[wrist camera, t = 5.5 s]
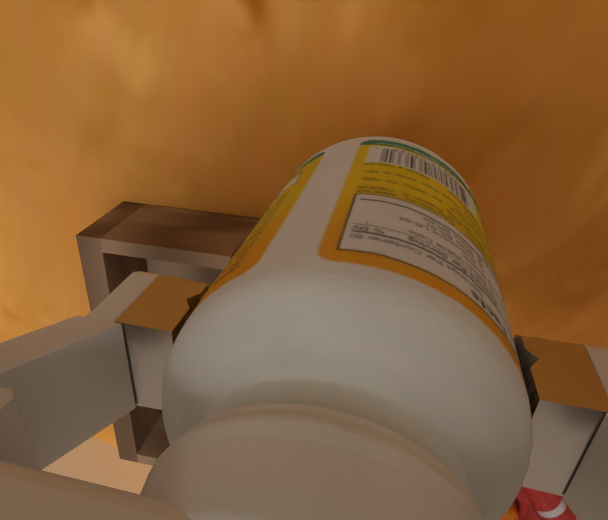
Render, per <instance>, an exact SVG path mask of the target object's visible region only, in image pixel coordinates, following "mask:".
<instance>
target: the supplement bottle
mask: <svg viewBox="0 0 608 520" xmlns="http://www.w3.org/2000/svg"><path fill="white" fill-rule="evenodd" d="M162 413H163V421H164V426H165V430H166V434H167V438H168V441H169V444H170V446H169V447H168V448H167V449H166V450H165V451H164V452H163V453H162V454H161V455H160V456H159V457H158V459H157V460H156V461H155V463H154V465H153V467H152V469H151V471H150V472H149V474H148V477H147V479H146V482H145V484H144V487H143V489H142V491H141V493H140V495H143V496H147V497H151V498H156V499H160V500H164V501H168V502H170V503H172V504H175V505H177V506H178V507H179V508H180V509H182V510H183V511H184V512H185V514H186V515H187V516H188V517H189V518H190V519H191V520H500V519H501V518H502V516H503V515H504V514H505V513H506V512H507V510H508V509H509V508H510V507H511V505H512V503H513V502H514V500H515V498H516V497H517V495H518V493H519V491H520V489H521V487H522V485H523V482H524V479H525V477H526V474H527V470H528V467H529V463H530V457H531V451H532V433H533V424H532V417H531V410H530V404H529V398H528V394H527V390H526V386H525V382H524V378H523V374H522V371H521V367H520V363H519V359H518V355H517V351H516V348H515V344H514V340H513V336H512V333H511V329H510V325H509V321H508V317H507V313H506V309H505V305H504V302H503V299H502V295H501V291H500V287H499V283H498V279H497V275H496V271H495V267H494V263H493V259H492V256H491V252H490V249H489V245H488V241H487V237H486V234H485V230H484V226H483V222H482V218H481V215H480V212H479V209H478V206H477V203H476V200H475V198H474V196H473V194H472V192H471V190H470V188H469V187H468V185H467V184H466V182H465V181H464V180H463V178H462V177H461V176H460V174H459V173H458V172H457V171H456V170H455V169H454V168H453V167H452V166H451V165H450V164H449V163H447V162H446V161H445V160H444V159H442V158H441V157H440V156H438V155H437V154H435V153H433V152H432V151H430V150H428V149H426V148H424V147H422V146H420V145H418V144H415V143H412V142H409V141H406V140H403V139H398V138H393V137H382V136H372V137H361V138H354V139H349V140H345V141H342V142H339V143H336V144H334V145H332V146H330V147H327V148H325V149H324V150H322V151H320V152H318V153H317V154H315V155H314V156H312V157H311V158H310V159H308V160H307V161H306V162H305V163H304V164H303V165H302V166H301V167H300V168H299V169H298V170H297V171H296V172H295V173H294V174H293V176H292V177H291V178H290V179H289V181H288V182H287V183H286V185H285V186H284V187H283V189H282V190H281V192H280V193H279V194H278V196H277V197H276V198H275V200H274V201H273V203H272V204H271V206H270V207H269V208H268V210H267V211H266V213H265V214H264V215H263V217H262V218H261V219H260V221H259V222H258V223H257V225H256V226H255V227H254V229H253V230H252V232H251V233H250V234H249V236H248V237H247V238H246V240H245V241H244V243H243V244H242V245H241V247H240V248H239V249H238V251H237V252H236V253H235V255H234V256H233V257H232V258H231V260H230V261H229V262H228V264H227V265H226V267H225V268H224V269H223V270H222V272H221V273H220V275H219V276H218V278H217V279H216V280H215V281H214V283H213V284H212V285H211V286H210V288H209V289H208V291H207V292H206V293H205V294H204V296H203V297H202V299H201V300H200V302H199V304H198V305H197V306H196V308H195V309H194V311H193V312H192V314H191V315H190V317H189V318H188V319H187V321H186V323H185V324H184V326H183V328H182V329H181V331H180V332H179V334H178V336H177V338H176V340H175V342H174V344H173V347H172V349H171V351H170V354H169V356H168V360H167V363H166V367H165V371H164V377H163V384H162Z"/></svg>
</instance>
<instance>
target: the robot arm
mask: <svg viewBox="0 0 608 520" xmlns="http://www.w3.org/2000/svg"><path fill="white" fill-rule="evenodd" d="M210 286H211V284H209V283H203V282H198V281H192V280H187V279H182V278H176V277H171V276H166V275H160V274H154V273H148V272H142V271H137V272H133V273H132V274H130V275H129V276H128V277H127V278H126V279H125V280H124V281H123V282H122V283H121V284H120V285H119V286H118V287H117V288H116V289H115V290H114V291H113V292H112V293H110V294H109V295H108V296H107V297H106V298H105V299H104V300H103V301H102V302H101V303H100V304H99V305H98V306H97V307H96V308H95V309H94V310H93V311H91V312H90V313H89V314H88V315H87V316H86V317H82V316H76V317H73V318H70V319H67V320H64V321H61V322H59V323H56V324H53V325H50V326H47V327H45V328H42V329H39V330H36V331H33V332H30V333H28V334H25V335H22V336H19V337H16V338H14V339H11V340H8V341H5V342H2V343H0V520H191V519H190V518H189V517H188V516H187V515H186V514H185V512H184V511H183V510H182V509H180V508H179V507H178V506H177V505H175V504H172V503H170V502H168V501H164V500H160V499H156V498H151V497H147V496H143V495H139V494H135V493H131V492H127V491H123V490H119V489H115V488H110V487H107V486H103V485H99V484H95V483H90V482H86V481H82V480H78V479H74V478H70V477H66V476H62V475H58V474H54V473H50V472H45V471H42V469H44V468H45V467H47V466H48V465H50V464H51V463H53V462H54V461H56V460H57V459H59V458H60V457H62V456H63V455H65V454H66V453H68V452H70V451H71V450H72V449H74V448H76V447H77V446H79V445H80V444H82V443H83V442H84V441H86V440H88V439H89V438H91V437H92V436H94V435H95V434H97V433H98V432H100V431H101V430H103V429H104V428H106V427H107V426H109V425H110V424H112V423H114V422H115V421H117V420H118V419H120V418H121V417H123V416H124V415H126V414H127V413H129V412H130V411H132V410H133V409H135V408H136V405H138V406H143V407H149V408H154V409H160V410H162V384H163V377H164V371H165V367H166V363H167V360H168V356H169V354H170V351H171V349H172V347H173V344H174V342H175V340H176V338H177V336H178V334H179V332H180V331H181V329H182V328H183V326H184V324H185V323H186V321H187V319H188V318H189V317H190V315H191V314H192V312H193V311H194V309H195V308H196V306H197V305H198V304H199V302H200V300H201V299H202V297H203V296H204V294H205V293H206V292H207V291H208V289H209V288H210ZM513 340H514V344H515V348H516V351H517V355H518V359H519V363H520V367H521V371H522V374H523V378H524V382H525V386H526V390H527V394H528V398H529V404H530V410H531V417H532V424H533V433H532V451H531V457H530V463H529V467H528V470H527V474H526V477H525V479H524V482H523V485H522V487H526V488H530V489H534V490H539V491H543V492H547V493H551V494H555V495H559V496H564V497H563V500H564V501H565V503H566V504H567V505H568V507H569V508H570V509H571V511H572V512H573V513H574V514H575V516H576V517H577V518H578V520H608V348H607V347H600V346H592V345H585V344H573V343H567V342H560V341H553V340H547V339H540V338H533V337H527V336H520V335H516V336H515V337H514V339H513Z"/></svg>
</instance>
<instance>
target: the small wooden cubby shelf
mask: <svg viewBox="0 0 608 520" xmlns="http://www.w3.org/2000/svg"><path fill="white" fill-rule="evenodd" d="M259 221H260V219H257V218H249V217H241V216H233V215H225V214H217V213H209V212H201V211H193V210H186V209H178V208H170V207H162V206H154V205H146V204H138V203H130V202H122V203H121V204H120V205H118V206H117V207H115V208H114V209H112V210H111V211H110V212H108V213H107V214H105V215H104V216H103V217H101V218H100V219H98V220H97V221H95V222H94V223H93V224H91V225H90V226H88V227H87V228H86V229H84V230H83V231H81V232H80V233H79V234H77V235H76V238H77V243H78V248H79V253H80V258H81V263H82V268H83V273H84V278H85V283H86V288H87V294H88V299H89V304H90V309H91V311H93V310H94V309H95V308H96V307H97V306H98V305H99V304H100V303H101V302H102V301H103V300H104V299H105V298H106V297H107V296H108V295H109V294H110V293H112V292H113V291H114V290H115V289H116V288H117V287H118V286H119V285H120V284H121V283H122V282H123V281H124V280H125V279H126V278H127V277H128V276H129V275H130V274H132V273H133V272H137V271H142V272H148V273H154V274H160V275H166V276H171V277H176V278H182V279H187V280H192V281H198V282H203V283H209V284H211V285H212V284H213V283H214V281H215V280H216V279H217V278H218V276H219V275H220V273H221V272H222V270H223V269H224V268H225V267H226V265H227V264H228V262H229V261H230V260H231V258H232V257H233V256H234V255H235V253H236V252H237V251H238V249H239V248H240V247H241V245H242V244H243V243H244V241H245V240H246V238H247V237H248V236H249V234H250V233H251V232H252V230H253V229H254V227H255V226H256V225H257V223H258V222H259ZM113 425H114V431H115V436H116V441H117V446H118V451H119V456H120V459H124V460H130V461H134V462H139V463H144V464H149V465H154V463H155V461H156V460H157V459H158V457H159V456H160V455H161V454H162V453H163V452H164V451H165V450H166V449H167V448H168V447H169V446H170V444H169V441H168V438H167V434H166V430H165V426H164V421H163V413H162V410H160V409H154V408H149V407H143V406H138V405H136V408H135V409H133V410H132V411H130V412H129V413H127V414H126V415H124V416H123V417H121V418H120V419H118V420H117V421H115V422H114V423H113Z"/></svg>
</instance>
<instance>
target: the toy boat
mask: <svg viewBox="0 0 608 520" xmlns="http://www.w3.org/2000/svg"><path fill="white" fill-rule="evenodd" d="M563 497H564V496H559V495H555V494H551V493H547V492H543V491H539V490H534V489H530V488H526V487H521V489H520V491H519V493H518V495H517V497H516V498H515V500H514V502H513V503H512V505H511V507H510V508H509V509H508V510H507V512H506V513H505V514H504V515H503V516H502V518H501V519H500V520H577V518H576V516H575V514H574V513H573V512H572V511H571V509H570V508H569V507H568V505H567V504H566V503H565V501H564V500H563Z"/></svg>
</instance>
